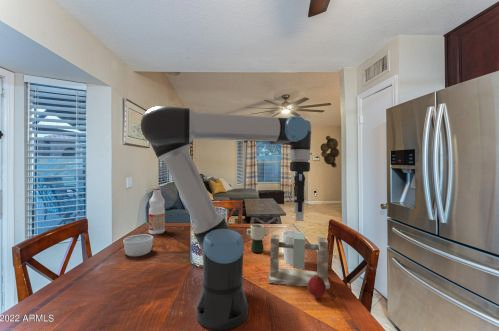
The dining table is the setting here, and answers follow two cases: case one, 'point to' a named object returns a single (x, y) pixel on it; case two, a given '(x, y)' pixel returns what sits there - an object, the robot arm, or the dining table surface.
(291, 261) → the foam cup
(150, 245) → the ramekin
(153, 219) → the fruit juice
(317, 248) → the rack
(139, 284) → the dining table surface
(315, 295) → the onion
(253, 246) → the character mug
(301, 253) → the grey u-shaped block
